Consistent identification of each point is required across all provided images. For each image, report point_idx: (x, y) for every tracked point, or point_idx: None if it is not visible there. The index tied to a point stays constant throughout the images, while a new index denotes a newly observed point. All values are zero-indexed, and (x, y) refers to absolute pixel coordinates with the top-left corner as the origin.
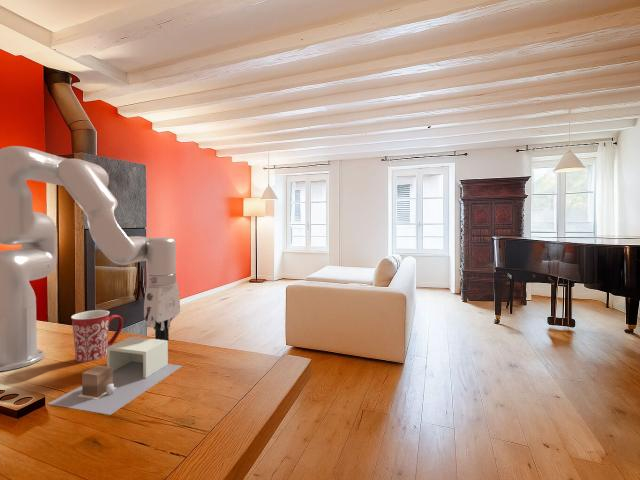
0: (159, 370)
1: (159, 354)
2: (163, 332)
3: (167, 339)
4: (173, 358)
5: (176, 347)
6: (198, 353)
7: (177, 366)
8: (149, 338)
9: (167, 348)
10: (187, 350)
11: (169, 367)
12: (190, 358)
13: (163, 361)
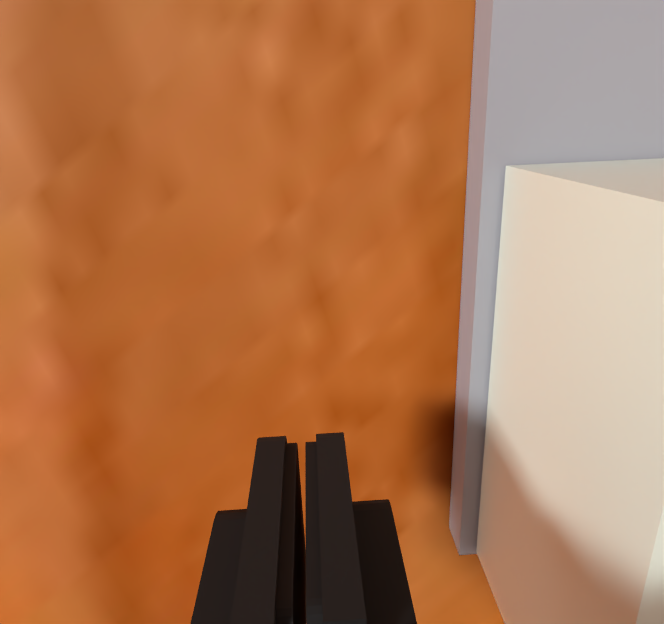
0: (648, 151)
1: None
2: (360, 594)
3: (280, 457)
4: (243, 289)
5: (8, 447)
6: (4, 103)
7: (526, 9)
8: (643, 604)
9: (628, 189)
10: (6, 292)
11: (566, 92)
12: (170, 103)
13: (618, 167)
